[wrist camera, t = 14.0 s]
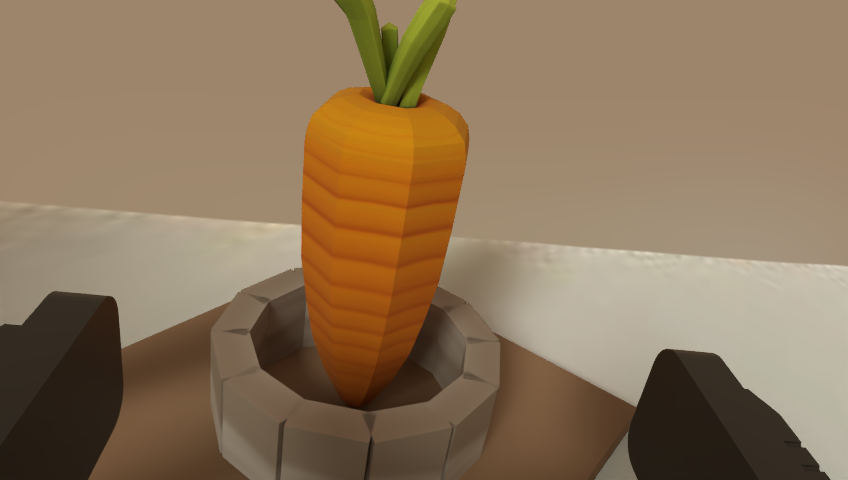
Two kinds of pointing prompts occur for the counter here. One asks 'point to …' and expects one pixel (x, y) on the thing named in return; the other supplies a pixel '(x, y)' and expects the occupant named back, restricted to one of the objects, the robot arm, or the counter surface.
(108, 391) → the robot arm
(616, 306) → the counter surface
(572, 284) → the counter surface
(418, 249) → the carrot
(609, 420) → the ring board
